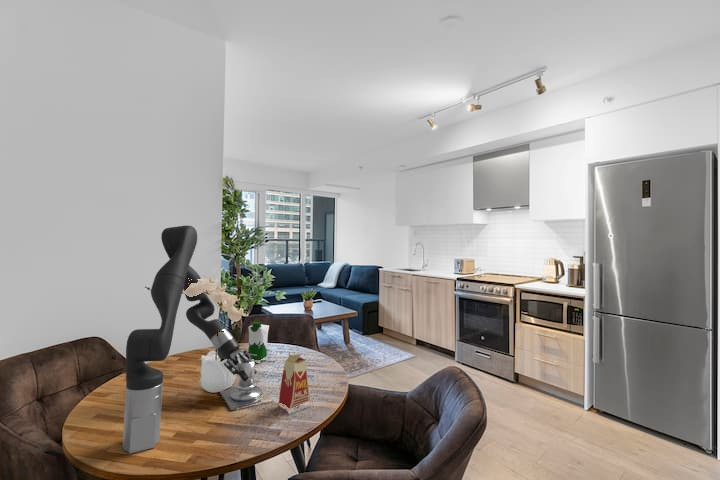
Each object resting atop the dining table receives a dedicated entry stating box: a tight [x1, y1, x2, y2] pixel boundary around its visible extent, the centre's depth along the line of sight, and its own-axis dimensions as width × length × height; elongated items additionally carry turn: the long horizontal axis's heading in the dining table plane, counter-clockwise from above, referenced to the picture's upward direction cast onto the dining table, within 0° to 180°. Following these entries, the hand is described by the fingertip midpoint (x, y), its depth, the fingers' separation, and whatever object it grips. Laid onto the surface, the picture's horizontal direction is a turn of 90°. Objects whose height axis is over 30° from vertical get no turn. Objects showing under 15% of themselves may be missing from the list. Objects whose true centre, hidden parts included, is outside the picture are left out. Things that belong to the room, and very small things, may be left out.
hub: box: [236, 359, 256, 391], centre depth 133 cm, size 7×7×10 cm
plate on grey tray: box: [219, 386, 262, 411], centre depth 133 cm, size 18×16×2 cm
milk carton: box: [278, 353, 311, 409], centre depth 127 cm, size 9×9×20 cm
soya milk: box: [247, 321, 270, 360], centre depth 175 cm, size 9×9×20 cm
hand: (251, 376), depth 133 cm, fingers closed on hub, 5 cm apart
